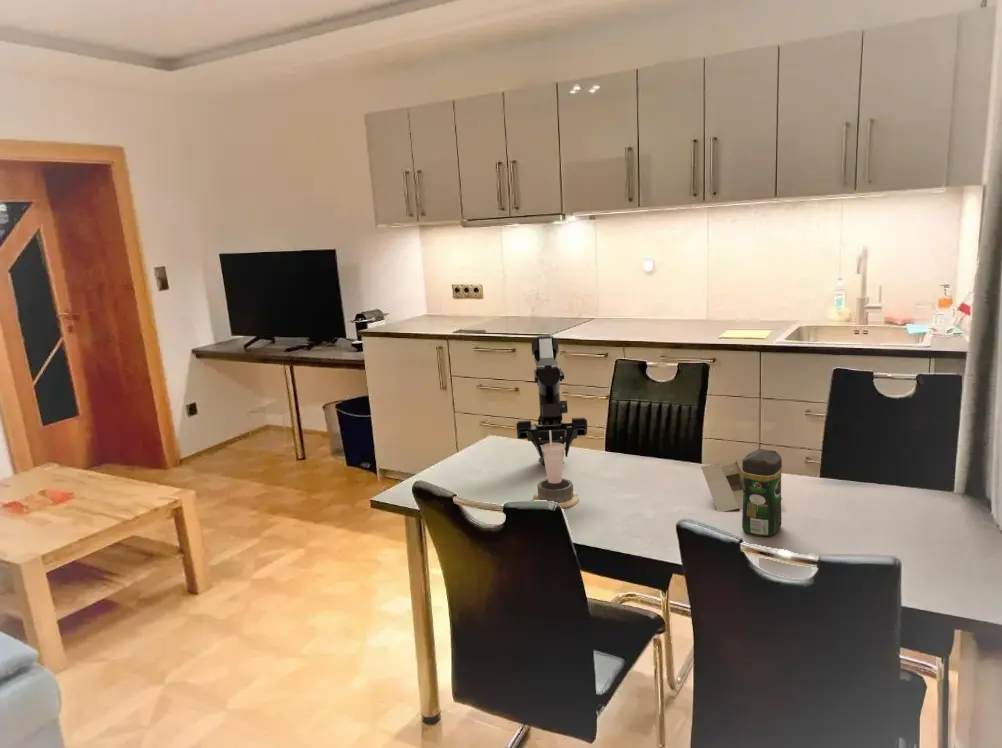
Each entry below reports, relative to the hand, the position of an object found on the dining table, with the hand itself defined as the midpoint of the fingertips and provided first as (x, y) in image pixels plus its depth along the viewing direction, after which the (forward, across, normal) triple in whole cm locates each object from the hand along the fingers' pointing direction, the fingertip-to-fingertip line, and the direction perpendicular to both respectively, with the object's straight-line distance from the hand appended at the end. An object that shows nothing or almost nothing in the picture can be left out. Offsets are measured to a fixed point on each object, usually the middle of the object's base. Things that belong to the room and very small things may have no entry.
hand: (553, 457), depth 186 cm
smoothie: (+4, 0, +6) cm, 7 cm away
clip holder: (+8, 0, +10) cm, 13 cm away
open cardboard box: (+13, +47, +6) cm, 49 cm away
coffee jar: (+25, +46, -7) cm, 53 cm away
